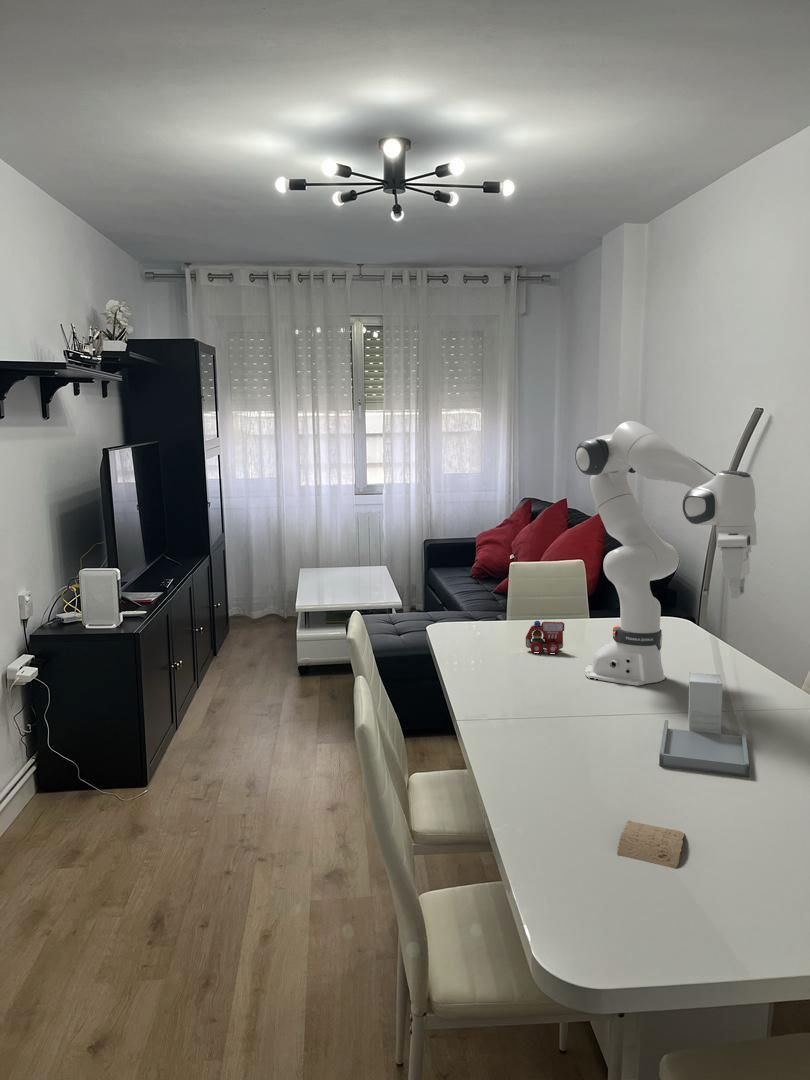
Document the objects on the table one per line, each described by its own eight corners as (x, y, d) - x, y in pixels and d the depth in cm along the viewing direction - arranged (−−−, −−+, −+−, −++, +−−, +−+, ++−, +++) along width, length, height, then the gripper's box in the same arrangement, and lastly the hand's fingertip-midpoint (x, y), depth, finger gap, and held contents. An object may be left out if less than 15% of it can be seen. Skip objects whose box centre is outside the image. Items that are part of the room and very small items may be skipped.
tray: (659, 765, 170) (659, 754, 170) (664, 730, 190) (664, 720, 190) (748, 776, 164) (749, 765, 164) (744, 738, 184) (744, 728, 184)
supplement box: (719, 724, 193) (721, 674, 191) (721, 735, 186) (723, 683, 185) (687, 721, 196) (689, 671, 194) (687, 732, 189) (689, 680, 187)
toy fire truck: (526, 648, 264) (527, 617, 263) (564, 650, 261) (565, 619, 260) (524, 653, 257) (524, 622, 256) (563, 655, 254) (563, 624, 253)
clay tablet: (629, 823, 147) (629, 809, 146) (687, 834, 143) (687, 819, 142) (615, 861, 134) (615, 846, 134) (678, 875, 130) (678, 859, 129)
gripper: (727, 537, 200) (729, 592, 200) (716, 540, 182) (717, 600, 182) (755, 536, 197) (756, 592, 197) (746, 539, 179) (747, 601, 179)
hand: (737, 596), depth 189 cm, fingers open, 8 cm apart
